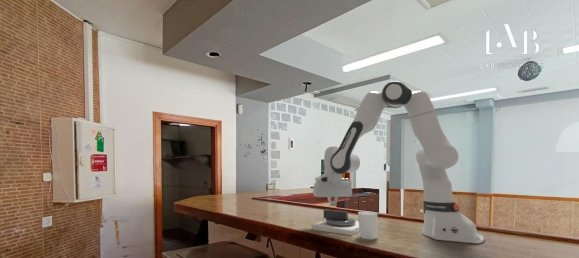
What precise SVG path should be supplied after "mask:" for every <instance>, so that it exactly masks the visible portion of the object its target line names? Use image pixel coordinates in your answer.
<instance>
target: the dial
mask: <svg viewBox="0 0 579 258" xmlns="http://www.w3.org/2000/svg"><path fill="white" fill-rule="evenodd" d="M348 212H349V211H343V210H335V209H334V210H333V209H326V208H325V209H323V219H325V220H326V224H328V225H332V226H352V225H355V221H356V220H355V219H354V218H351V217H349V213H348Z"/></svg>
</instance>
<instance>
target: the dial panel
mask: <svg viewBox="0 0 579 258" xmlns="http://www.w3.org/2000/svg"><path fill="white" fill-rule="evenodd" d="M311 230H313V231H314V230H315V231H320V232H327V233H328V232H329V233H333V234H338V235H347V236H353V235H356V234H357V233H360V230H359V220H355V225H352V226H332V225H328V224H326V219H324V220H322V221H319V222H316V223H313V224H311Z"/></svg>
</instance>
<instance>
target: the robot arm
mask: <svg viewBox="0 0 579 258" xmlns="http://www.w3.org/2000/svg"><path fill="white" fill-rule="evenodd" d="M401 107H404V109H405V110H406V112H407V116H408V118H409V122H410V125H411V128H412V131H413V134H414V136H415V137H416V139H417V140H418V141H419V143H420V145H421V147H420V148H419V149H418V150H417V152H415V153H416V154H415V160H416V162H417V165H418V168H419V172H420V175H421V180H422V188H423V189H422V190H423V202H422V207H423V209H422V210H423V214H424V215H423V216H424V219H423V229H422V232H421V234H422V235H424V236H426V237H429V238H432V239H434V240H437V241H438V240H439V241H446V242H447V241H448V242H459V243H467V244H468V243H469V244H482V243H484V242H485V238H484V235H483V234H479V233H478V232H477V231H478V230H477V226H476V225H475V223H474V221H472V220H471V219H469V217H467V216H466V215H464V214H463V213H461V212H460V206H459V203H456V202H454V200H453V199H454V198H453V197H454V196H453V190H452V189H453V188H452V182H451V180H450V179H449V176H448V174H447V171H446V170H447V169H450V168H452V167H454V166H455V165H456V164H457V163H458V161H459V152H458V150H457V149H456V148H455V146H453V145H452V144H451V142H450V141H449V140H448V138H447V136H446V135H445V133H444V131H443V129H442V127H441V125H440V122H439V121H440V120H439V118H438V116H437V113H436V110H435V107H434V104H433V102H432V100H431V99H430V97H429V94H428V93H427V92H425V91H423V90H415V91H412V89H410V88H409V87H407V85H405V83H403V82H401V81H398V80H393V81H392V80H391V81H389V82H387V83H386V84H385V85H384V86H383V88H382V90H381V92H378V91H368V92H367V93H366V94H365V95H364V97H363V98H362V100H361V102H360V105H359V106H358V109H357V111H356V113H355V116H354V118H353V120H352V122H351V123H350V125H349V127H348V129H347V131H346V132H345V135H344V137H343V139H342V141H341V142H340V145H339V146H337V145H336V146H330V147H327V148H326V149H325V150H324V156H323V165H324V170H323V174H320V175H319V176H316V177H315V178H314V181H315V182H314V183H313V187H312V188H313V191H312V194H313V196H314V197H316V198H327V200H328V203H329V207H336V206H337V202H338V201H339V198H340V197H342V198H343V197H344V198H345V197H348V198H349V197H352V196H353V190H352V180H351V179H350V178H348V177H347V178H344V177H342V174H346V173H353V172H355V171H357V170H358V169H359V168H360V166H361V160H360V158H359V157H358V155H357V154H355V153H353V151H354V149H355V147H356V145H357V143H358V142H359V140H360V138H361V137H363V136H364V135H366V134H368V133H370V132H372V131H373V130H374V129H375V128H376V126H377V125H378V123H379V120H380V118H381V116H382V113H383V111H384V110H385V108H390V109H391V108H392V109H398V108H401ZM333 198H334V200H333V201H332V199H333Z"/></svg>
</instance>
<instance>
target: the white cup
mask: <svg viewBox="0 0 579 258" xmlns="http://www.w3.org/2000/svg"><path fill="white" fill-rule="evenodd" d="M357 216H358V219H357V220H358V221H359V230H360V231H359V237H360V239H364V240H376V239H377V238H378V213H377V212H374V211H365V210H363V211H362V210H361V211H358V212H357Z"/></svg>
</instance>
